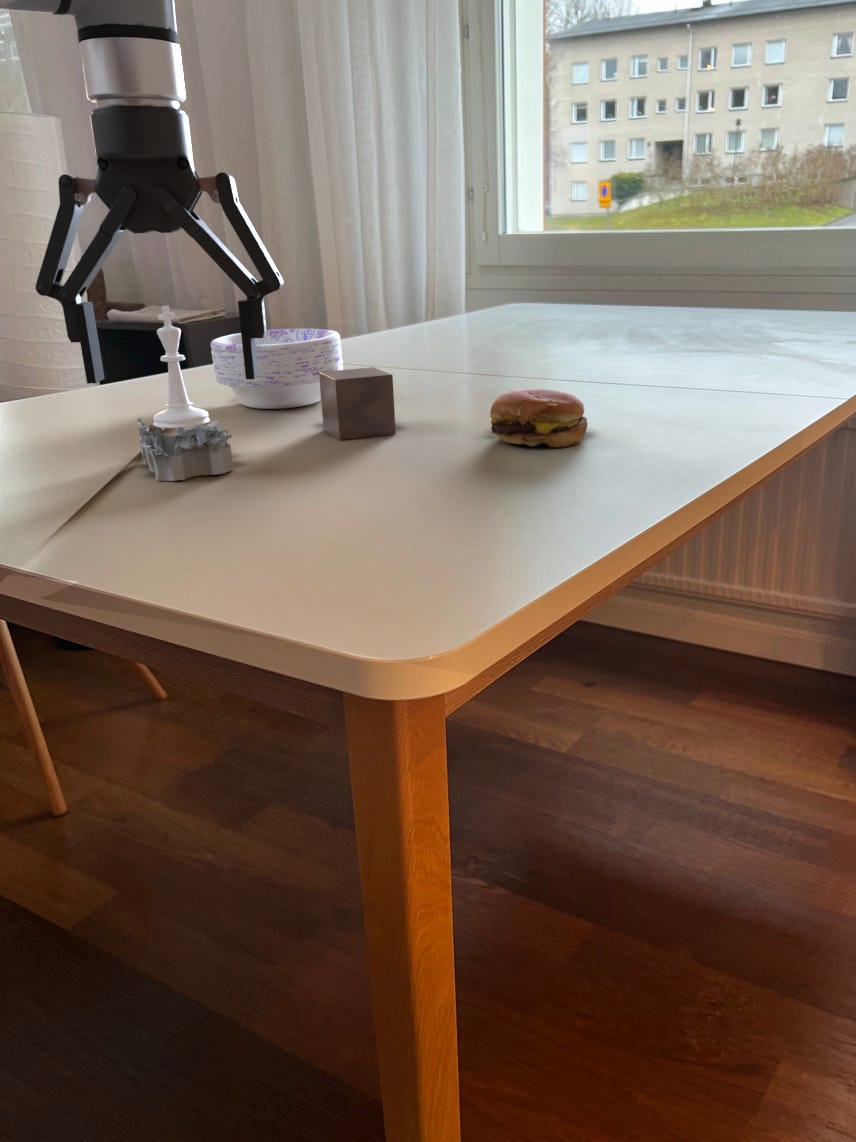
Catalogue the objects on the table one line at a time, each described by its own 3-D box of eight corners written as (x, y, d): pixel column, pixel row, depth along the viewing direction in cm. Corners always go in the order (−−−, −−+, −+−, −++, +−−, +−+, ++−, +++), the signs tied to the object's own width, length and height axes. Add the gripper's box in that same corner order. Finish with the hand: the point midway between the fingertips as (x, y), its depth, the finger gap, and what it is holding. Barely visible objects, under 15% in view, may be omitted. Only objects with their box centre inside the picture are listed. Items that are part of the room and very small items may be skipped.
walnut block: (340, 440, 100) (335, 379, 98) (323, 429, 105) (318, 371, 103) (396, 434, 102) (392, 374, 100) (377, 424, 107) (373, 367, 105)
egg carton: (140, 460, 94) (132, 417, 92) (220, 452, 97) (214, 409, 95) (151, 485, 85) (144, 437, 83) (240, 475, 88) (234, 428, 86)
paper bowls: (194, 412, 116) (184, 342, 112) (255, 390, 129) (248, 327, 126) (314, 416, 112) (307, 343, 109) (364, 393, 125) (359, 328, 122)
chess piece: (221, 419, 90) (206, 303, 86) (185, 429, 86) (168, 309, 82) (178, 416, 92) (161, 303, 88) (141, 426, 88) (122, 308, 84)
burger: (540, 425, 104) (540, 380, 103) (605, 439, 98) (607, 391, 96) (468, 440, 99) (467, 393, 97) (532, 456, 92) (532, 405, 90)
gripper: (300, 110, 83) (319, 369, 92) (-5, 113, 82) (43, 376, 90) (291, 101, 76) (313, 381, 85) (-42, 103, 75) (14, 389, 83)
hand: (174, 379), depth 88 cm, fingers open, 13 cm apart
